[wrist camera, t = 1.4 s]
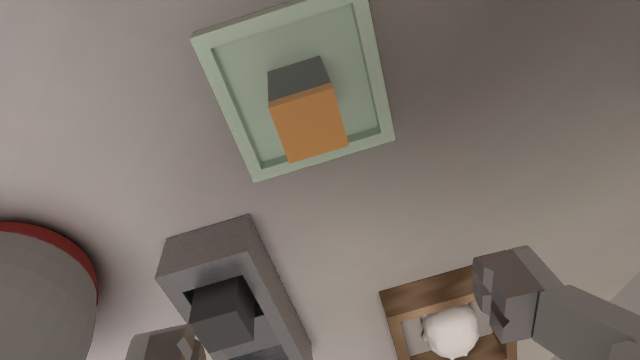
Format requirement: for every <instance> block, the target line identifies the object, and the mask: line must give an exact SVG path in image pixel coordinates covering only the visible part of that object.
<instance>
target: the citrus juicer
mask: <svg viewBox="0 0 640 360" xmlns="http://www.w3.org/2000/svg"><path fill="white" fill-rule="evenodd" d="M97 303H98V286H97V279H96V274H95V270H94V266H93V265H92V263H91V261H90V259H89V258H88V256H87V255H86V254H85V253H84V252H83V251H82V250H81V249H80V248H79V247H78V246H77V245H75V244H74V243H73V242H72V241H70V240H69V239H67V238H65V237H64V236H62V235H60V234H58V233H56V232H53V231H51V230H49V229H46V228H43V227H39V226H36V225H32V224H26V223H19V222H0V360H86V357H87V354H88V351H89V348H90V345H91V342H92V338H93V332H94V327H95V322H96V306H97Z"/></svg>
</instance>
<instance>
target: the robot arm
mask: <svg viewBox="0 0 640 360" xmlns="http://www.w3.org/2000/svg"><path fill="white" fill-rule="evenodd" d="M472 268H473V269H474V271H475V272H476V274H475V276H474V277H473V278H472V289H473V293H474V297H475V299H476V302H477V304H478V306H479V307H480V309H481V311H482V312H484V313H486V314H488V315H489V316H490V326H491V327H492V329H493V331H494V332H495V334H496V336H497V337H498V339H499V340H500V342H501V344H504V343H509V342H514V341H519V340H524V339H529V338H532V340H534V341H535V342H537V343H538V344H540V345H541V346H543V347H544V348H546V349H547V350H549V351H550V352H552V353H553V354H555V355H556V356H558V357H559V358H560V359H562V360H640V315H637V314H635V313H633V312H631V311H628V310H626V309H624V308H621V307H619V306H617V305H615V304H612V303H610V302H608V301H606V300H603V299H601V298H599V297H597V296H594V295H592V294H590V293H587V292H585V291H583V290H581V289H578V288H576V287H574V286H572V285H567V286H564V285H563V283H562V282H561V281H560V280H559V279H558V278H557V277H556V276H555V275H554V273H553V272H552V271H551V270H550V269H549V268H548V267H547V266H546V264H545V263H544V262H543V261H542V260H541V259H540V258H539V257H538V256H537V254H536V253H535V252H534V251H533V250H532V249H531V248H530V247H529V246H527V245H525V246H521V247H517V248H512V249H509V250H503V251H499V252H495V253H491V254H487V255H483V256H479V257H475V258H474V260H473V266H472ZM194 337H195V330H194V328H193V327H192V325H191V324H185V325H180V326H175V327H170V328H165V329H160V330H155V331H152V332H147V333H142V334H137V335H135V336H134V337H133V339H132V340H131V342H130V346H129V349H128V352H127V355H126V359H125V360H206V355H205V351H204V348H203V346H202V344H201V342H200V341H198V340H196V339H194Z"/></svg>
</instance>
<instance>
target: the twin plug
mask: <svg viewBox="0 0 640 360" xmlns="http://www.w3.org/2000/svg"><path fill="white" fill-rule="evenodd" d="M254 316H255V296H254V295H253V293H252V291H251V289H250V287H249V285H248V284H247V282H246V280H245V278H244V276H243V275H240V276H237V277H233V278H230V279H226V280H223V281H219V282H216V283H213V284H209V285H206V286H202V287H199V288H196V289H195V290H194V295H193V301H192V306H191V311H190V317H189V322H188V324H191V325H192V327H193V328H194V330H195V335H196V336H197V338H198V339H199V340H200V342H201V343H202V344H203V346H204V347H205V349H206V350H207V351H208V353H212V352H216V351H219V350H223V349H226V348H230V347H233V346H237V345H240V344H244V343H247V342H251V341H254Z"/></svg>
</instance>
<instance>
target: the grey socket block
mask: <svg viewBox="0 0 640 360" xmlns="http://www.w3.org/2000/svg"><path fill="white" fill-rule="evenodd" d="M240 275H243V276H244V278H245V280H246V282H247V284H248V285H249V287H250V289H251V291H252V293H253V295H254V296H255V316H254V341H251V342H247V343H244V344H240V345H237V346H233V347H230V348H226V349H223V350H219V351H216V352H212V353H209V354H210V356H211V357H212V359H213V360H313V357H312V348H311V342H310V340H309V338H308V336H307V334H306V332H305V330H304V327H303V325H302V323H301V321H300V319H299V317H298V315H297V313H296V311H295V309H294V307H293V304H292V302H291V300H290V298H289V296H288V294H287V292H286V290H285V288H284V286H283V284H282V282H281V279H280V277H279V275H278V273H277V271H276V269H275V267H274V265H273V263H272V261H271V259H270V256H269V254H268V252H267V250H266V248H265V246H264V244H263V242H262V240H261V238H260V236H259V233H258V231H257V229H256V227H255V225H254V223H253V221H252V219H251V217H250V215H249V214H247V215H244V216H241V217H237V218H234V219H231V220H227V221H224V222H221V223H217V224H214V225H211V226H207V227H204V228H201V229H197V230H194V231H191V232H187V233H184V234H181V235H177V236H174V237H171V238H167V239H166V242H165V245H164V249H163V252H162V255H161V259H160V262H159V265H158V268H157V272H156V275H155V278H154V279H155V280H156V281H157V283H158V284H159V285H160V287H161V288H162V290H163V291H164V292H165V294H166V295H167V297H168V298H169V299H170V301H171V302H172V303H173V305H174V306H175V308H176V309H177V310H178V312H179V313H180V314H181V316H182V317H183V319H184V320H185V321H186V323H187V324H188V322H189V317H190V311H191V306H192V301H193V295H194V290H195V289H196V288H199V287H202V286H206V285H209V284H213V283H216V282H219V281H223V280H226V279H230V278H233V277H237V276H240ZM196 337H197V336H196ZM199 341H200V340H199ZM202 345H203V344H202ZM204 348H205V347H204ZM207 352H208V351H207Z"/></svg>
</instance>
